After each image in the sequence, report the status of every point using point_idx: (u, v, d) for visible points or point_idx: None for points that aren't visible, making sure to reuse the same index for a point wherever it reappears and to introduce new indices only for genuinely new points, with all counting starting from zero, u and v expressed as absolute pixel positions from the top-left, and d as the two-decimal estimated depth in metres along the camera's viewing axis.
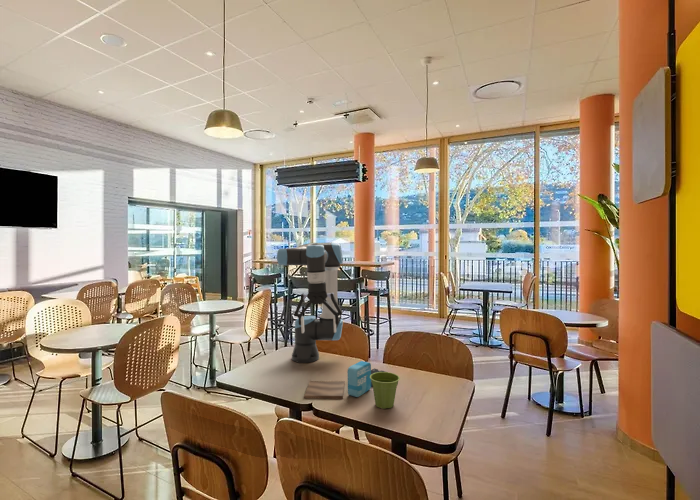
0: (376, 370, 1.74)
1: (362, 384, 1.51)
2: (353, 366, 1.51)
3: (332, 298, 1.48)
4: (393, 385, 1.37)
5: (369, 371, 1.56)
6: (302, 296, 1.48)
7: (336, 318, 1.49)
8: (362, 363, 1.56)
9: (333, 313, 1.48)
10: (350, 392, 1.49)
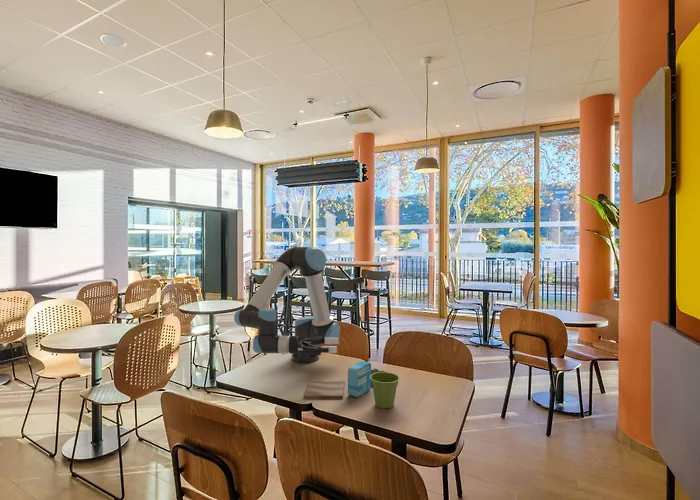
0: (376, 370, 1.74)
1: (362, 384, 1.51)
2: (353, 366, 1.51)
3: None
4: (393, 385, 1.37)
5: (369, 371, 1.56)
6: None
7: None
8: (362, 363, 1.55)
9: None
10: (350, 392, 1.49)
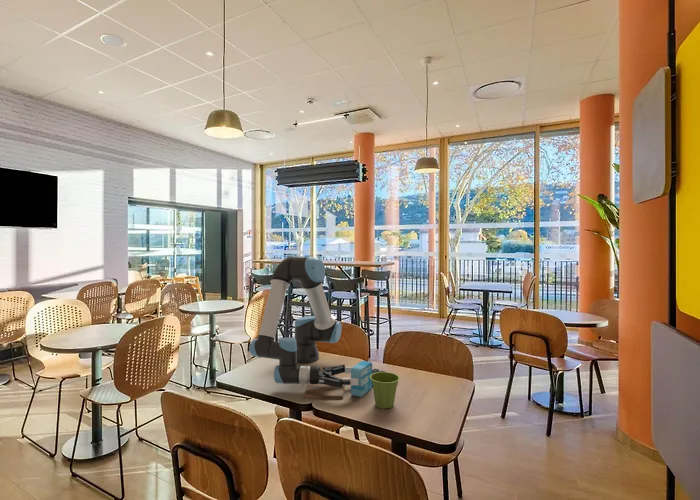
0: (377, 370, 1.74)
1: (365, 384, 1.52)
2: (356, 366, 1.51)
3: None
4: (393, 385, 1.37)
5: (371, 371, 1.57)
6: None
7: None
8: (364, 362, 1.56)
9: None
10: (353, 392, 1.49)
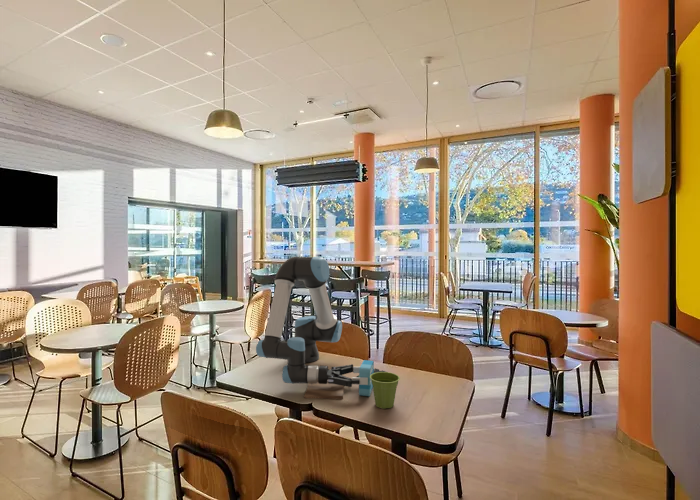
0: (377, 370, 1.75)
1: (371, 382, 1.53)
2: (363, 366, 1.51)
3: None
4: (393, 385, 1.37)
5: (373, 369, 1.58)
6: None
7: None
8: (367, 362, 1.57)
9: None
10: (362, 392, 1.49)
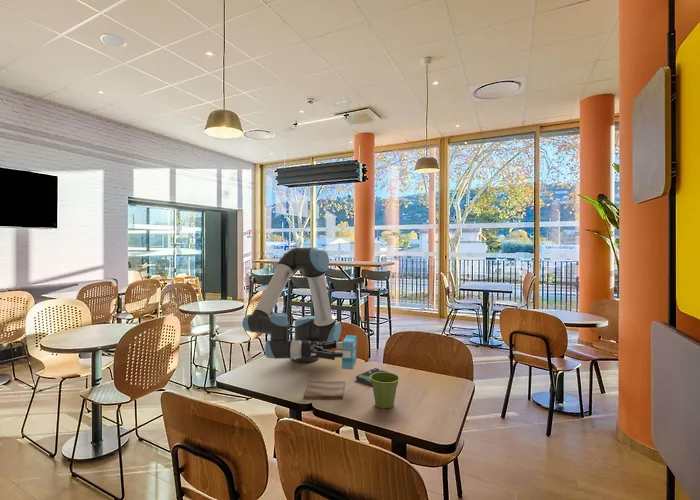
0: (377, 370, 1.75)
1: (354, 356, 1.54)
2: (346, 340, 1.52)
3: None
4: (393, 385, 1.37)
5: (356, 344, 1.59)
6: None
7: None
8: (350, 336, 1.57)
9: None
10: (345, 365, 1.49)
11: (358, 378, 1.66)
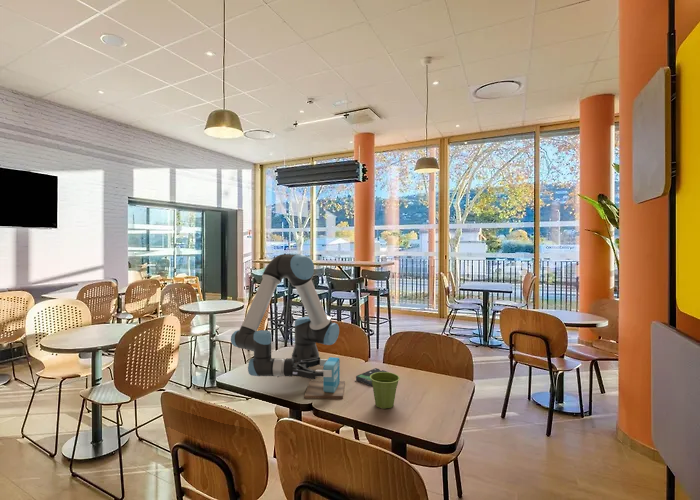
0: (377, 370, 1.75)
1: (336, 379, 1.53)
2: (327, 363, 1.52)
3: None
4: (393, 385, 1.37)
5: (339, 366, 1.59)
6: None
7: None
8: (332, 359, 1.57)
9: None
10: (326, 389, 1.49)
11: (358, 378, 1.66)
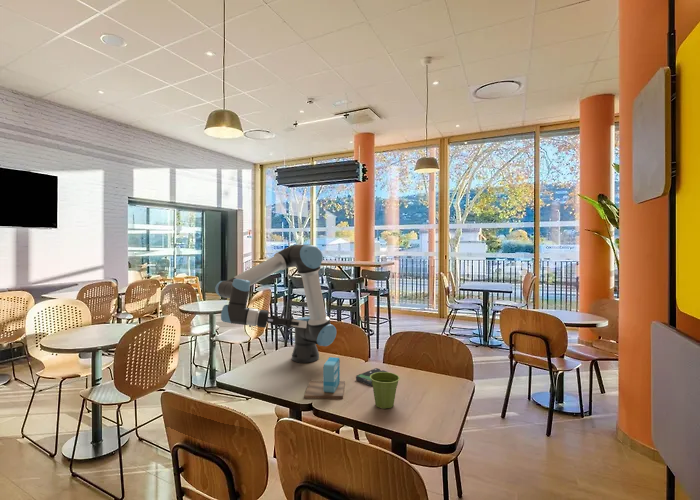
0: (378, 370, 1.75)
1: (336, 379, 1.53)
2: (327, 363, 1.52)
3: (272, 323, 1.51)
4: (393, 385, 1.37)
5: (339, 366, 1.59)
6: None
7: (292, 324, 1.50)
8: (333, 359, 1.57)
9: None
10: (326, 389, 1.49)
11: (358, 378, 1.66)
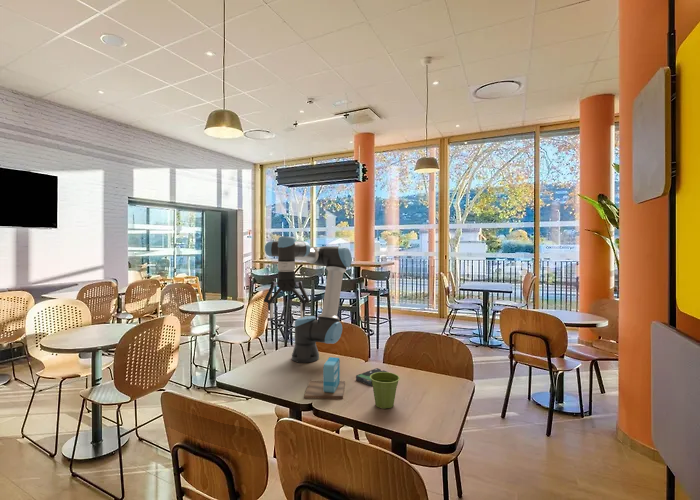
0: (378, 370, 1.75)
1: (336, 379, 1.53)
2: (327, 363, 1.52)
3: (300, 286, 1.59)
4: (393, 385, 1.37)
5: (339, 366, 1.59)
6: (272, 283, 1.60)
7: (303, 305, 1.60)
8: (333, 359, 1.57)
9: (300, 300, 1.59)
10: (326, 389, 1.49)
11: (358, 378, 1.67)
